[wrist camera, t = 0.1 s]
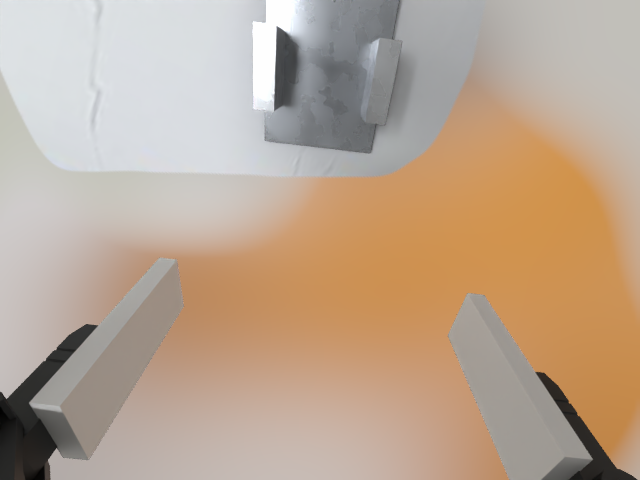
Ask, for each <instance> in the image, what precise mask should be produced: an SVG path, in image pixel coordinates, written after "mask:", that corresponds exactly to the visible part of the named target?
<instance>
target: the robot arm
mask: <svg viewBox="0 0 640 480" xmlns="http://www.w3.org/2000/svg"><path fill="white" fill-rule="evenodd" d="M183 307H184V304H183V298H182V291H181V284H180V277H179V270H178V264H177V260H176V259H175V260H174V259H167V258H159V259H158V260H157V261H156V262H155V263H154V264H153V265H152V267H151V268H150V269H149V270H148V271H147V272H146V273H145V274H144V275H143V277H142V278H141V279H140V280H139V281H138V282H137V283H136V284H135V286H134V287H133V288H132V289H131V290H130V291H129V292H128V293H127V294H126V295H125V297H124V298H123V299H122V300H121V301H120V302H119V303H118V304H117V305H116V307H115V308H114V309H113V310H112V311H111V312H110V313H109V314H108V315H107V317H106V318H105V319H104V320H103V321H102V322H101V324H99V325H89V324H86V325H84V326H83V327H81V328H79V329H78V330H76V331H75V332H73V333H71V334H70V335H69V336H68V337H67V338H66V339H65V340H64V341H63V342H62V343H61V344H60V345H59V346H58V347H57V350H54V351H53V352H52V353H51V354H50V355H49V356H48V357H47V358H46V361H44V362H42V363H41V364H40V366H39V367H38V368H37V369H36V370H35V371H34V372H33V373H32V374H31V375H30V376H29V377H28V378H27V379H26V380H25V381H24V382H23V383H22V384H21V385H20V386H19V387H18V388H17V389H16V390H15V391H14V392H13V393H12V394H11V395H10V396H9V398H7V399H6V398H5V397H4V395H3V394H2V392H0V480H50V465H49V463H48V459H49V458H50V456H51V455H52V453H53V452H54V451H55V449H56V448H57V449H58V450H59V452H60V454H61V455H62V457H63V458H73V459H82V460H89V459H90V458H91V456H92V454H93V453H94V451H95V450H96V448H97V446H98V445H99V443H100V441H101V440H102V438H103V437H104V435H105V433H106V432H107V430H108V428H109V427H110V425H111V424H112V422H113V420H114V419H115V417H116V416H117V414H118V412H119V411H120V409H121V407H122V406H123V404H124V402H125V401H126V399H127V398H128V396H129V394H130V393H131V391H132V390H133V388H134V386H135V385H136V383H137V381H138V380H139V378H140V376H141V375H142V373H143V372H144V370H145V368H146V367H147V365H148V364H149V362H150V360H151V359H152V357H153V355H154V353H155V352H156V351H157V349H158V347H159V346H160V344H161V342H162V341H163V339H164V338H165V335H166V334H167V333H168V331H169V329H170V328H171V326H172V325H173V323H174V321H175V320H176V318H177V317H178V315H179V313H180V312H181V310H182V308H183ZM448 337H449V339H450V342H451V344H452V347H453V349H454V351H455V353H456V356H457V358H458V361H459V363H460V365H461V368H462V370H463V372H464V375H465V377H466V379H467V382H468V384H469V386H470V389H471V391H472V393H473V396H474V398H475V400H476V403H477V405H478V407H479V410H480V412H481V414H482V417H483V419H484V421H485V424H486V426H487V428H488V431H489V433H490V435H491V438H492V440H493V442H494V445H495V447H496V449H497V452H498V454H499V457H500V459H501V461H502V464H503V466H504V468H505V470H506V473H507V475H508V478H509V480H637V479H636V478H634V477H633V476H632V475H630V474H628V473H626V472H624V471H622V470H620V469H617V468H616V467H615V465H614V464H613V463H612V462H611V460H610V459H609V457H608V456H607V455H606V453H605V452H604V450H603V449H602V447H601V446H600V445H599V443H598V442H597V440H596V439H595V437H594V436H593V435H592V433H591V432H590V430H589V429H588V427H587V426H586V425H585V423H584V422H583V420H582V419H581V418H580V417H579V416H578V415H577V412H576V411H575V409H574V408H573V406H572V405H571V404H569V401H568V399H567V398H566V396H565V395H564V393H563V392H562V391H561V389H560V388H559V387H558V385H557V384H555V383H554V382H553V381H552V380H551V379H550V378H549V377H548V376H547V375H546V374H545V373H541V372H535V371H534V370H533V368H532V367H531V365H530V364H529V362H528V361H527V359H526V358H525V356H524V355H523V353H522V352H521V350H520V348H519V347H518V345H517V344H516V343H515V341H514V339H513V338H512V336H511V335H510V333H509V332H508V330H507V329H506V327H505V326H504V324H503V323H502V322H501V320H500V318H499V317H498V315H497V314H496V312H495V311H494V309H493V308H492V306H491V305H490V304H489V302H488V300H487V299H486V297H485V296H484V295H480V294H472V293H467V295H466V297H465V300H464V302H463V304H462V306H461V308H460V310H459V313H458V315H457V317H456V319H455V321H454V323H453V325H452V327H451V330H450V332H449V334H448Z"/></svg>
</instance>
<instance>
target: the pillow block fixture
mask: <svg viewBox="0 0 640 480" xmlns="http://www.w3.org/2000/svg"><path fill="white" fill-rule="evenodd" d="M398 5H399V0H267V18H266V23H258V22H253V109H254V110H262V111H265V141H271V142H279V143H288V144H296V145H305V146H313V147H322V148H330V149H338V150H347V151H355V152H364V153H370V152H371V147H372V142H373V137H374V131H375V126H376V124H378V125H385V124H386V119H387V114H388V109H389V104H390V100H391V95H392V90H393V85H394V80H395V75H396V70H397V65H398V61H399V56H400V51H401V46H402V41H400V40H392V37H393V31H394V26H395V21H396V16H397V10H398Z"/></svg>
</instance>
